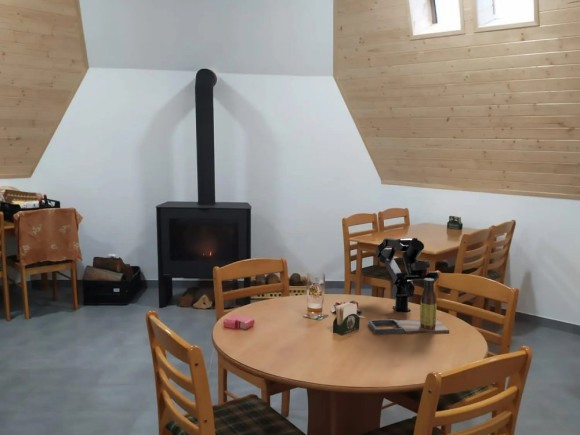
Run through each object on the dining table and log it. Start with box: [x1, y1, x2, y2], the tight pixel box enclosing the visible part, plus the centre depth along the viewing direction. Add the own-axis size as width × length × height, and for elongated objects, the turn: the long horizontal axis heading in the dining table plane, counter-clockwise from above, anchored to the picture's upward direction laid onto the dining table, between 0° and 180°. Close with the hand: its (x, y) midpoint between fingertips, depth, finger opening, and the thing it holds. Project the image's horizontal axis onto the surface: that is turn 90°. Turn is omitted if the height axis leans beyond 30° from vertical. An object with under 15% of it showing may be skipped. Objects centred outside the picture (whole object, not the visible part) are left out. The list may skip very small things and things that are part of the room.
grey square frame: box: [368, 318, 404, 335], centre depth 205 cm, size 11×11×2 cm
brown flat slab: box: [395, 318, 450, 335], centre depth 207 cm, size 13×18×1 cm
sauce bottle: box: [419, 278, 438, 329], centre depth 204 cm, size 7×6×20 cm
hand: (421, 295), depth 210 cm, fingers open, 9 cm apart
